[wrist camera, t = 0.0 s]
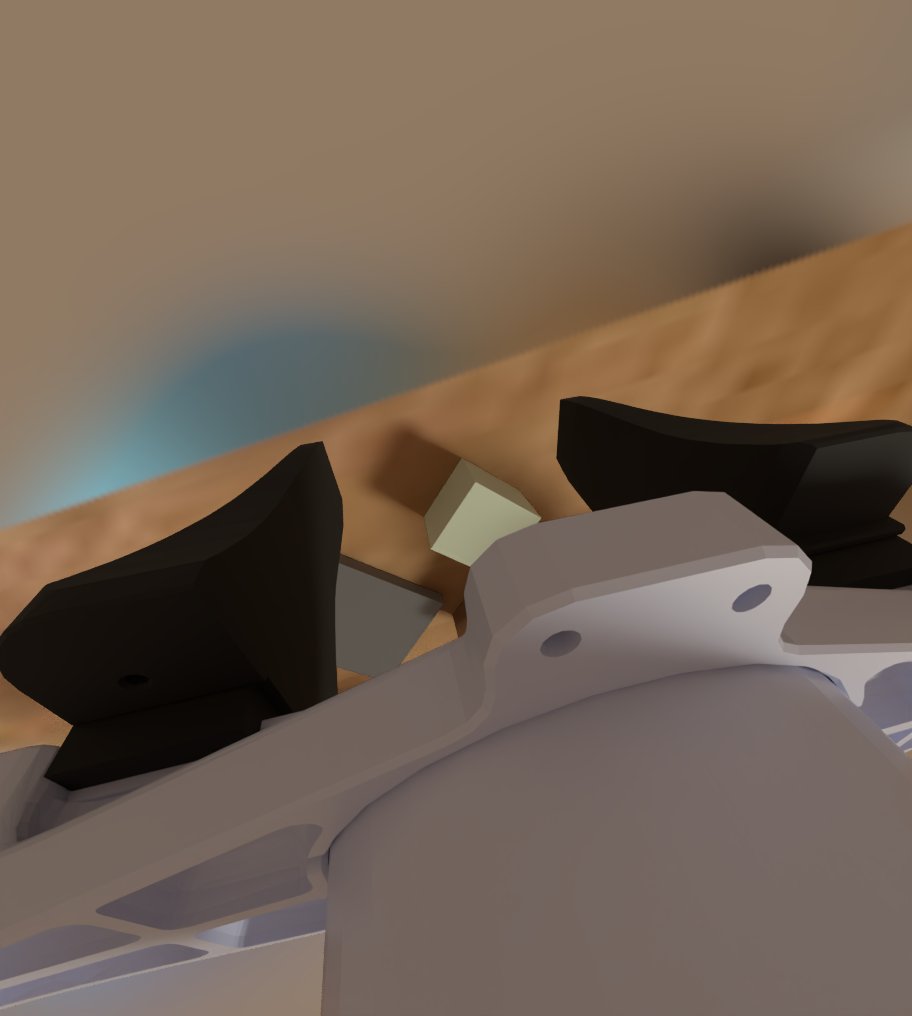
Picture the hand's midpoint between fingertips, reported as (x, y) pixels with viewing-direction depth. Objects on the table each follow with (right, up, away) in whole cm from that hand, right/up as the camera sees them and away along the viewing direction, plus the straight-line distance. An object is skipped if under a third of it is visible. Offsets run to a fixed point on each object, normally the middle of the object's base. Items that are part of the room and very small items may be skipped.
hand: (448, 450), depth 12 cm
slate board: (-6, -9, +15) cm, 19 cm away
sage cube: (+1, -1, +13) cm, 13 cm away
